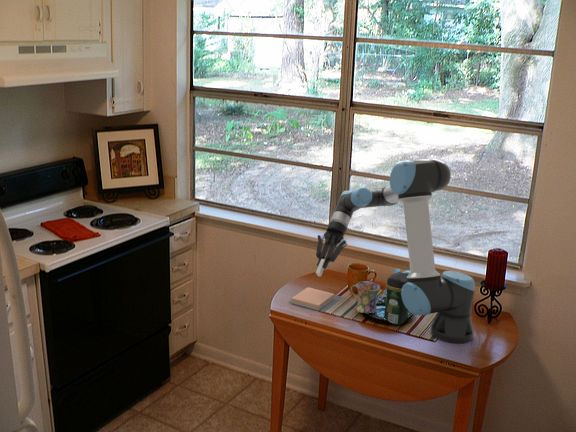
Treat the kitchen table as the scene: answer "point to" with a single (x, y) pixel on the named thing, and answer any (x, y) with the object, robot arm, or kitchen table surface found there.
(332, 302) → the mat
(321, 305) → the tile
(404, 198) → the robot arm
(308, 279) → the kitchen table surface
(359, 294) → the mug
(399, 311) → the coffee jar
